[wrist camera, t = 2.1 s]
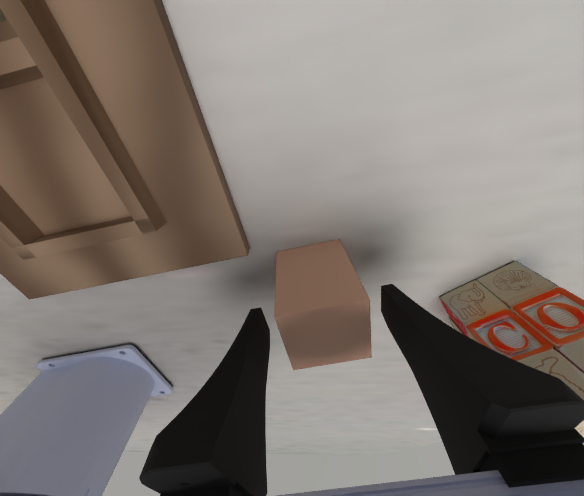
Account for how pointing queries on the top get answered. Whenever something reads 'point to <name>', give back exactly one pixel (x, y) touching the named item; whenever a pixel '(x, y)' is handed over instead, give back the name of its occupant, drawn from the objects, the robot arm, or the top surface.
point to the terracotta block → (321, 306)
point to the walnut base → (103, 150)
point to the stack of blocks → (524, 321)
